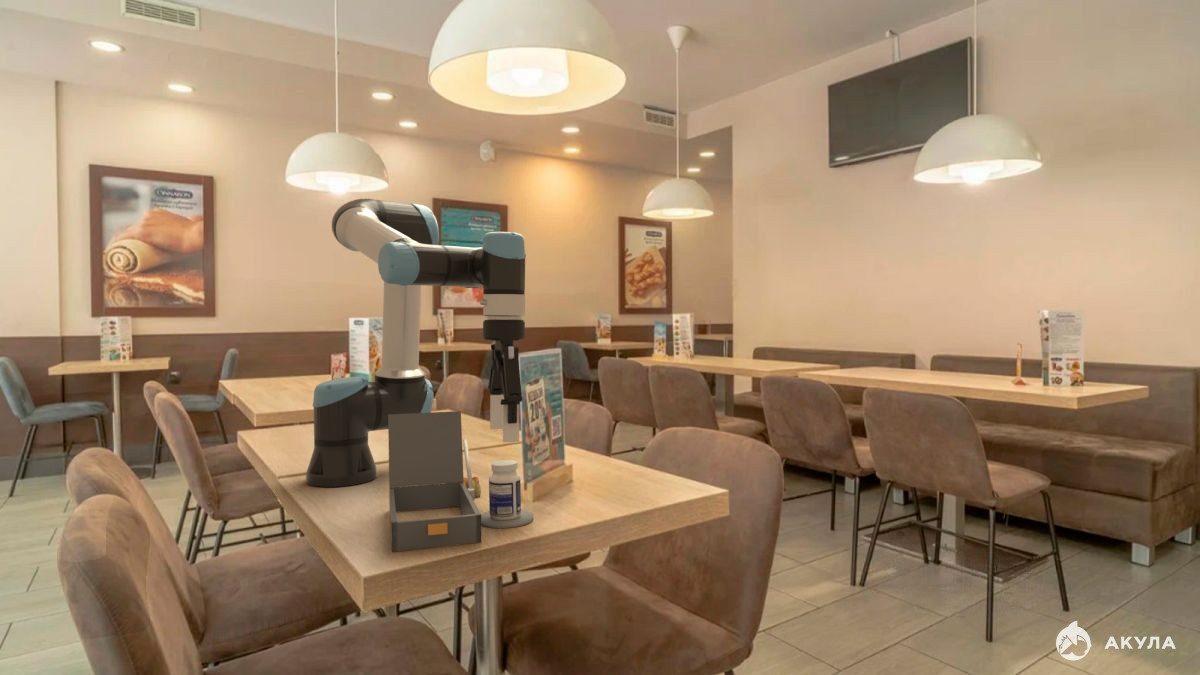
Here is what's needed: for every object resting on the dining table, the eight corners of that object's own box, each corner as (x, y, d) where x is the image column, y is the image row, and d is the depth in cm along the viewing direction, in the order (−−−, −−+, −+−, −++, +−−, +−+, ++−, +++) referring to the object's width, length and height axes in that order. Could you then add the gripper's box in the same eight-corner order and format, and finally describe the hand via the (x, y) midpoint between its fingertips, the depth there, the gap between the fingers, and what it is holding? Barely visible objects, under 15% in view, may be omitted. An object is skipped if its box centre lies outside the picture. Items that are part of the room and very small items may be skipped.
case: (389, 505, 131) (388, 414, 130) (466, 499, 135) (465, 410, 135) (392, 553, 103) (390, 437, 103) (488, 542, 108) (487, 431, 108)
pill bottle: (506, 510, 125) (505, 457, 125) (527, 515, 121) (527, 461, 121) (482, 517, 120) (482, 462, 120) (504, 523, 117) (503, 467, 116)
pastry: (436, 502, 134) (436, 483, 134) (433, 494, 140) (433, 476, 140) (483, 497, 137) (482, 479, 137) (477, 490, 143) (477, 473, 143)
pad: (474, 515, 124) (474, 511, 124) (526, 509, 127) (526, 506, 127) (482, 530, 114) (482, 527, 114) (538, 524, 118) (538, 521, 118)
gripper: (473, 317, 131) (473, 424, 131) (494, 318, 107) (494, 449, 108) (511, 318, 133) (511, 423, 134) (540, 319, 109) (539, 446, 110)
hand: (503, 435), depth 121 cm, fingers open, 13 cm apart
